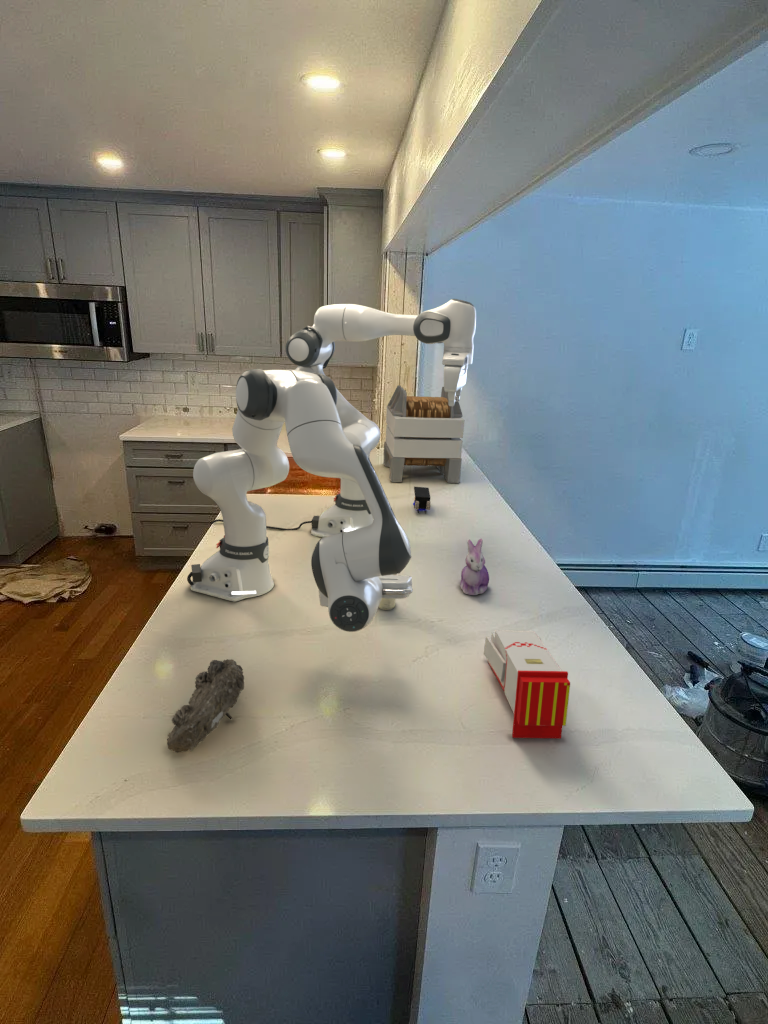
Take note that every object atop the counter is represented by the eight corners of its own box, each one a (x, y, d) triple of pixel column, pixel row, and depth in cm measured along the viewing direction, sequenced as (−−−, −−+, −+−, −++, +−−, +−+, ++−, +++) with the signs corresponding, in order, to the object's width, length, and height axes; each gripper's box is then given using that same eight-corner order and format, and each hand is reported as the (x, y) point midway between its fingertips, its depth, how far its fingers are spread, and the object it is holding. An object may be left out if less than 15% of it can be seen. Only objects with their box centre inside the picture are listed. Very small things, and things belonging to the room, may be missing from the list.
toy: (532, 614, 131) (579, 678, 101) (527, 667, 134) (572, 745, 104) (479, 613, 130) (512, 677, 101) (476, 667, 133) (506, 744, 104)
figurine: (471, 599, 156) (476, 549, 151) (450, 583, 165) (454, 536, 160) (498, 593, 160) (504, 544, 155) (476, 578, 169) (481, 531, 164)
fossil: (192, 660, 117) (244, 628, 112) (224, 691, 120) (276, 661, 115) (142, 746, 98) (202, 712, 93) (182, 779, 101) (242, 748, 96)
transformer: (382, 463, 289) (386, 382, 275) (445, 464, 293) (451, 384, 279) (390, 482, 257) (394, 392, 243) (460, 483, 261) (468, 394, 247)
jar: (392, 600, 154) (395, 545, 149) (396, 609, 150) (400, 553, 144) (374, 601, 153) (376, 546, 148) (378, 610, 149) (381, 554, 143)
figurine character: (431, 519, 219) (427, 502, 232) (432, 501, 216) (429, 485, 229) (413, 518, 219) (411, 501, 232) (415, 500, 215) (412, 484, 229)
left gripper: (412, 578, 114) (414, 564, 128) (312, 576, 116) (325, 562, 130) (411, 608, 115) (414, 591, 129) (312, 606, 117) (325, 589, 131)
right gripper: (453, 354, 180) (449, 398, 185) (441, 358, 161) (437, 407, 166) (473, 355, 178) (468, 399, 183) (463, 360, 160) (459, 409, 164)
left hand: (369, 577), depth 129 cm, fingers open, 8 cm apart
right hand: (454, 403), depth 174 cm, fingers open, 8 cm apart
